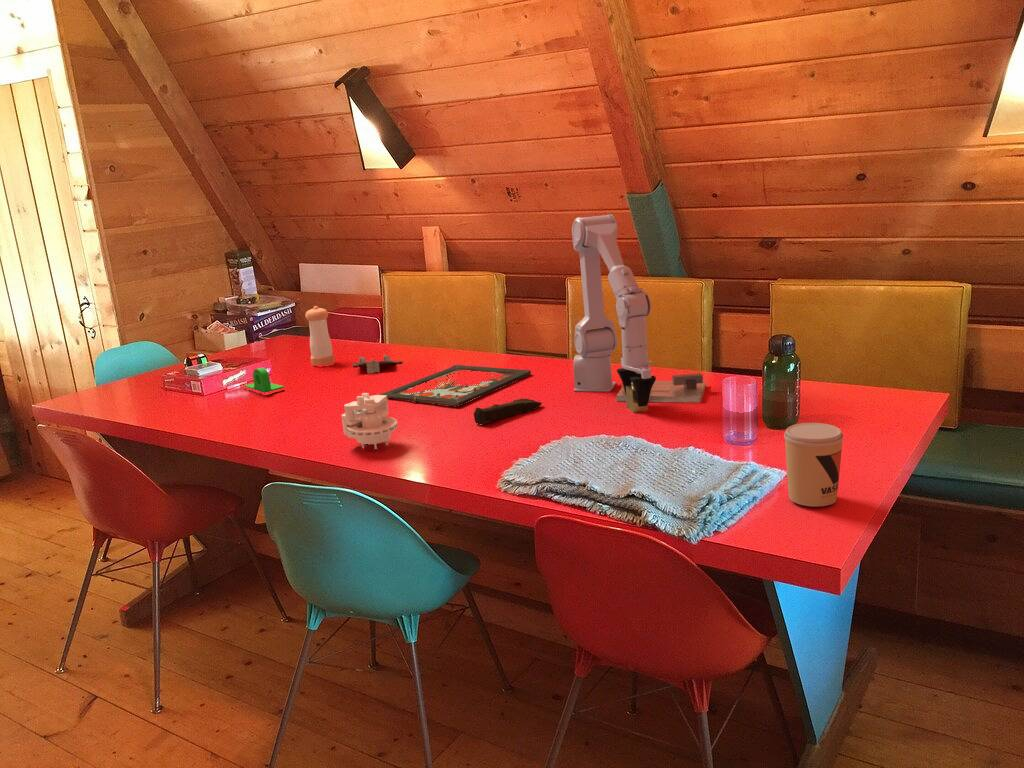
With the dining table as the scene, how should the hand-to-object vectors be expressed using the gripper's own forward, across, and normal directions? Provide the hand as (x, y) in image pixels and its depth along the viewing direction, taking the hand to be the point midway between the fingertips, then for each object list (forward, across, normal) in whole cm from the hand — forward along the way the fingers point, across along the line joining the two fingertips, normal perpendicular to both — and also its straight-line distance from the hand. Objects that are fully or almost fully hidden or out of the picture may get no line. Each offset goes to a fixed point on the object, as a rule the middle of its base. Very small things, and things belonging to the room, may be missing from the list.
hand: (636, 401), depth 207 cm
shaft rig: (+2, +9, -10) cm, 14 cm away
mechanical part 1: (+2, +64, +88) cm, 109 cm away
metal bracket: (+1, +73, +48) cm, 87 cm away
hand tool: (+1, +1, +31) cm, 31 cm away
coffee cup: (+2, -62, -8) cm, 63 cm away
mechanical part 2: (+2, 0, +62) cm, 62 cm away
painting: (+2, +42, +36) cm, 55 cm away
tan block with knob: (+2, 0, 0) cm, 2 cm away
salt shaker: (+2, +88, +70) cm, 113 cm away
